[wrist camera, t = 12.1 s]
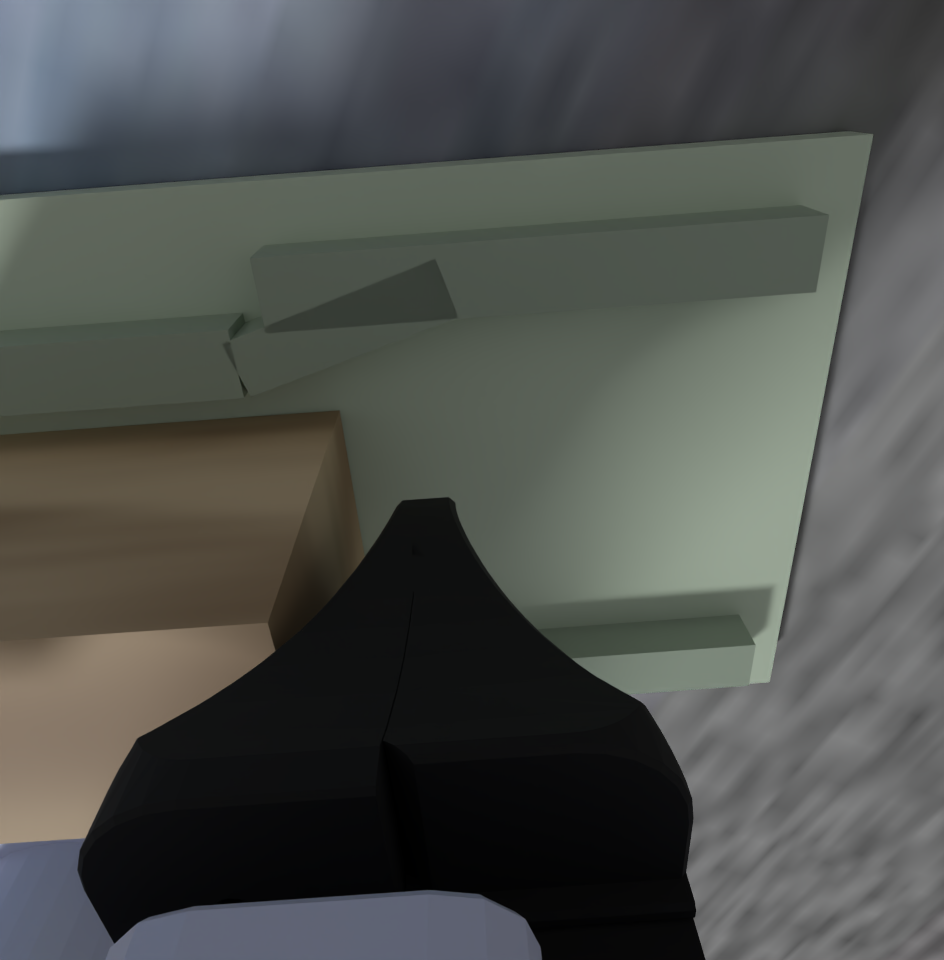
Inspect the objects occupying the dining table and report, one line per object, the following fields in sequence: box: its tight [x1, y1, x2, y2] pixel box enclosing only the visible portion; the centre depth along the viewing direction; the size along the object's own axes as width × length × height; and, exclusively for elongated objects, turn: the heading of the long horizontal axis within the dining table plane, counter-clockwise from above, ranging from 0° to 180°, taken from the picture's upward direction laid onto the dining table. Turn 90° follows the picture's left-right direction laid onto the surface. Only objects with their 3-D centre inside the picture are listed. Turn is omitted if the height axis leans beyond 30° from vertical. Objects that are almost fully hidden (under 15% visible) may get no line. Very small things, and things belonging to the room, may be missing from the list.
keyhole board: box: [0, 131, 873, 694], centre depth 14 cm, size 12×19×2 cm, turn 94°
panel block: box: [0, 410, 365, 844], centre depth 12 cm, size 4×8×6 cm, turn 94°
